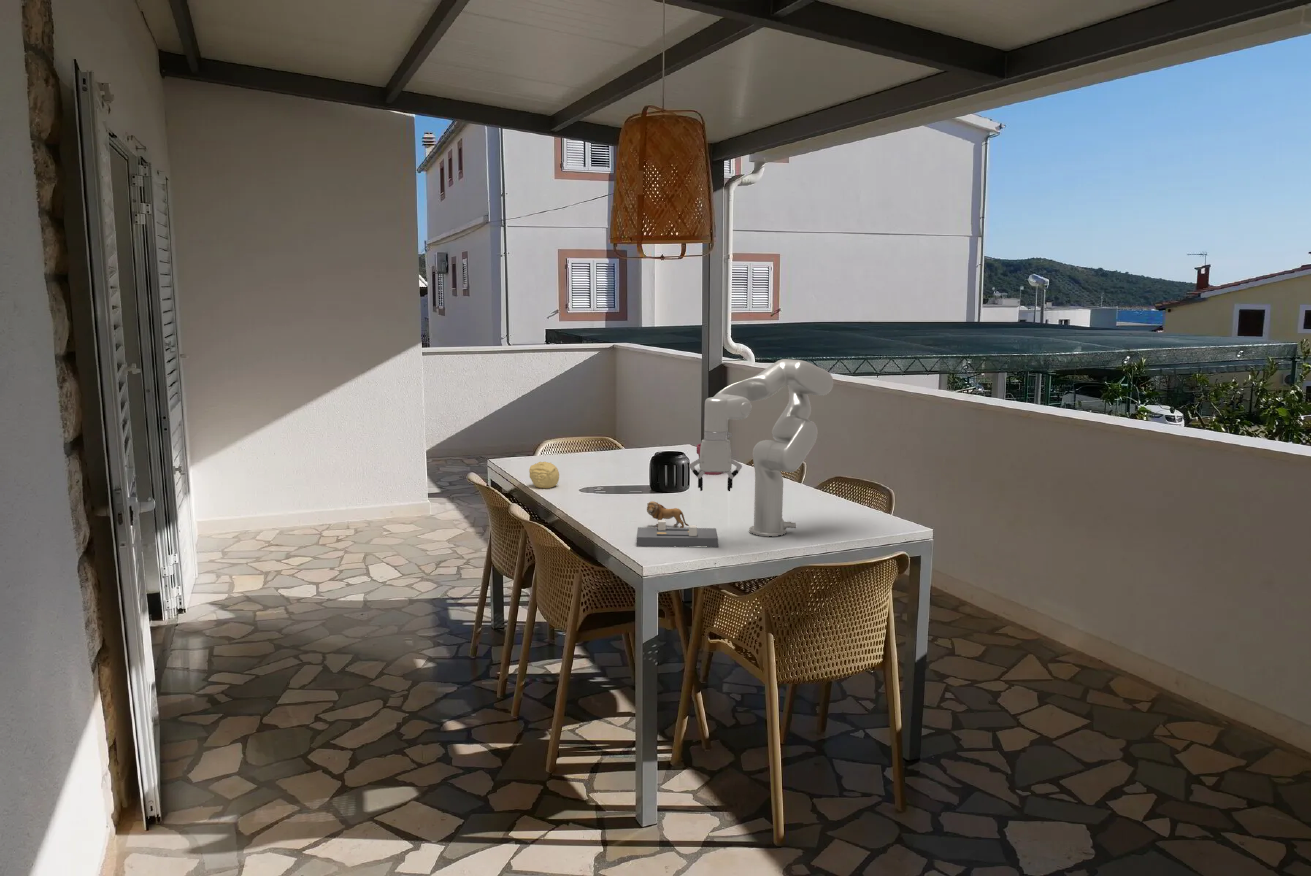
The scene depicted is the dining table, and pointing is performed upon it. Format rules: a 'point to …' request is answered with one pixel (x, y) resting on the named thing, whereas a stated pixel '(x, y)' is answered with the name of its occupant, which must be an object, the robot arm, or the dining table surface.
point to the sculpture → (544, 475)
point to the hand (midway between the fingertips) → (715, 490)
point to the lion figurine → (665, 513)
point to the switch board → (676, 537)
